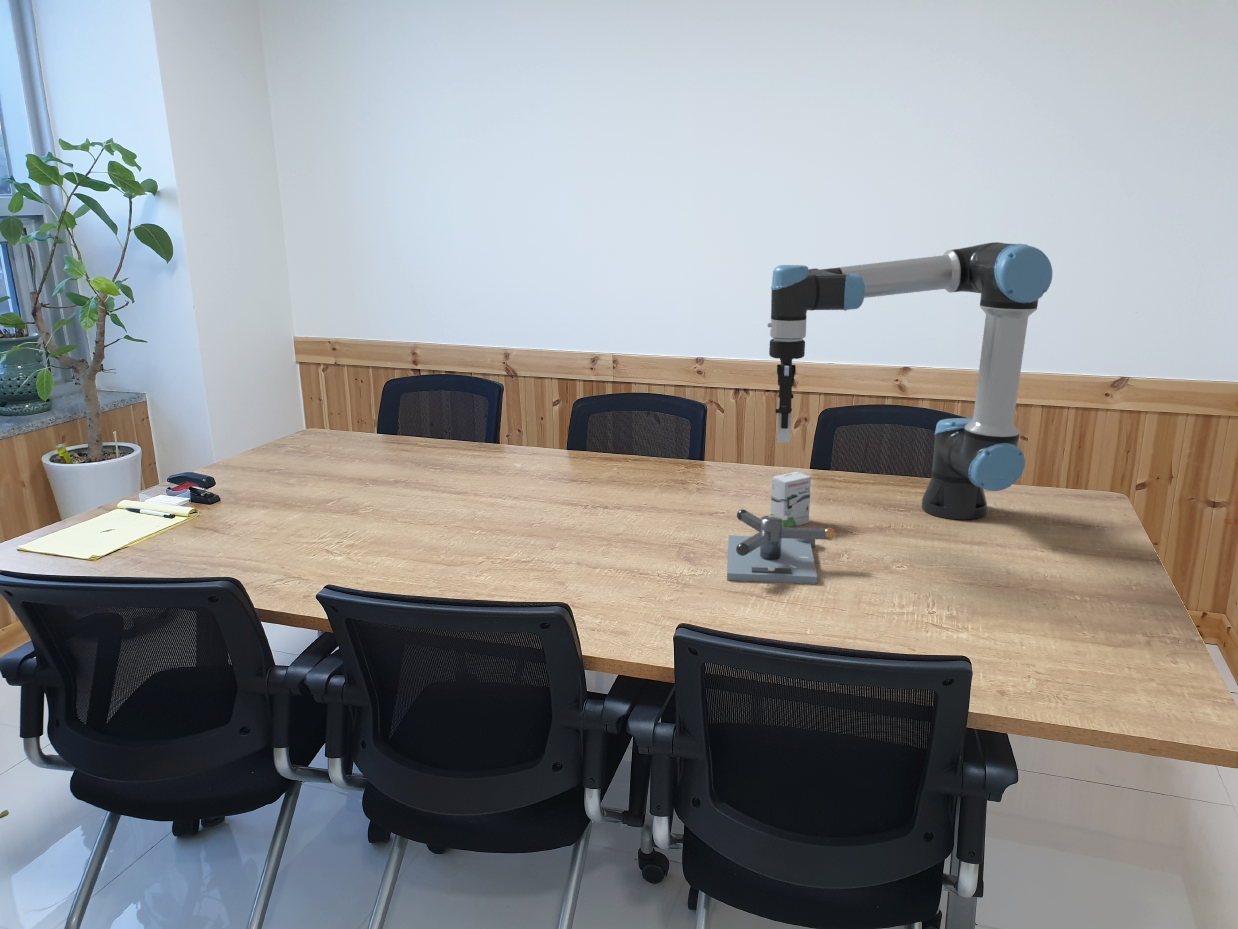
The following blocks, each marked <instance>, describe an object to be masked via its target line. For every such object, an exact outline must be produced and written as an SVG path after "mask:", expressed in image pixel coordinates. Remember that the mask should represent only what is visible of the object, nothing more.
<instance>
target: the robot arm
mask: <svg viewBox="0 0 1238 929" xmlns="http://www.w3.org/2000/svg"><path fill="white" fill-rule="evenodd" d="M771 278H772V279H771V287H770V290H771V296H770V297H771V300H770V302H771V304H770V305H771V306H770V307H771V310H770V312H771V313H770V322H769V323H767V327H768V328H770V330H769V336H770V338H771V339H770V340H769V350H768V352H769V357H770V358H772V359H779V360H780V364H777V365H776V375H777V385H778V387H779V388H778V399H777V400H778V402H777V403H778V404H777V408H775V414H777V422H776V423H777V427H776V428H777V438H776V441H777V442H776V443H777V444H778V443H779V444H791V432H792V431H791V426H792V411H793V408H792V399H794V393H793V386H794V385H795V384H794V383H795V375H796V370H797V366H796V364H793V360H798V359H802V358H804V356H805V355H806V354H805V350H806V341H805V339H804V338H806V336H807V335H806V334H807V314H808V312H807V311H843V312H845V311H846V312H847V311H850V310H857V309H859V308H860V307H862V305H863V302H864V300H865V299H867V298H874V297H875V298H876V297H877V298H878V297H883V296H894V295H903V294H911V293H920V292H929V291H939V290H945V291H946V292H948V293H950V294H951V293H959V292H961V293H962V292H967V293H973V294H974V293H975V294H980V300H979V301H980V302H979V307H980V309H981V310H982V311H983V312H984V314H985V318H984V319H985V320H984V326H983V327H984V328H983V334H982V336H983V337H982V342H981V343H982V344H981V351H980V358H979V361H980V362H979V366H978V367H979V369H978V375H977V384H976V390H975V392H976V393H975V399H974V408H973V414H972V415H973V417H972V418H970V417H969V418H967V417H966V418H965V417H964V418H963V417H961V418H959V417H956V418H954V417H953V418H944V419H941V420H938V422H937V423H936V425H935V426H936V427H935V432H934V440H933V441H934V443H933V444H934V445H933V446H934V447H933V453H932V454H933V455H932V457H933V458H932V467H931V468H932V471H931V478H930V480H929V482H928V485H927V487H926V489H925V492H924V494H923V496H922V498H921V510H923V511H924V512H926V513H928V514H930V515H932V516H936V517H938V518H944V519H951V520H976V519H981V518H982V517H984V516H986V515H987V512H988V503H987V499H986V495H985V494H986V493H985V491H984V490H986V491H990V492H999V491H1003V490H1006V489H1008V488H1010V487H1012V485H1013V484H1015V483H1017V482H1018V480H1019V479H1020V478H1021V476H1022V475H1023V473H1024V470H1025V467H1026V458H1025V455H1024V454H1023V451H1022V450H1021V449H1020V447H1019V439H1020V429H1018V427H1016V426H1015V424H1014V422H1015V415H1016V408H1017V407H1016V405H1017V400H1018V392H1019V386H1020V385H1019V384H1020V380H1021V371H1022V364H1023V357H1024V356H1023V355H1024V349H1025V344H1026V343H1025V342H1026V336H1027V335H1026V334H1027V327H1028V323H1029V322H1028V319H1029V317H1030V316H1031V315H1032V314H1033V313H1035V312H1036V311H1037V310H1038V304H1039V299H1041V298H1042V297H1043V295H1044V294H1045V293H1047V292H1048V290H1049V289H1050V286H1051V284H1052V280H1053V267H1052V263H1051V261H1050V259H1049V258H1048V256H1047V255H1046V254H1045V252H1043V251H1042V250H1041V249H1039V248H1037V247H1035V246H1031V245H1028V244H1023V243H1004V242H988V243H982V244H977V245H973V246H968V247H962V248H956V249H948V250H946V251H945V252H944V253H943V255H934V256H927V257H926V256H925V257H918V258H916V257H915V258H908V259H901V260H900V259H899V260H892V261H891V260H890V261H882V262H874V263H865V264H857V265H848V266H839V267H831V268H830V267H829V268H822V269H820V268H816V267H815V268H809V267H808V266H807V265H803V264H802V265H801V264H781V265H777V266H775V268H774V269H773V270H772V277H771Z"/></svg>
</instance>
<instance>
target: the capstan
mask: <svg viewBox="0 0 1238 929" xmlns="http://www.w3.org/2000/svg"><path fill="white" fill-rule="evenodd" d="M736 517H737V519H738V520H739V521H740V522H742V523H744V524H746V525H747V526H749V527H750V528H753V529H754V530H756V531H757V533H756V534H754V535H751V536H752V537H750V538H749V539H747V540H745V541H743V542H742V543H740V544H738V545H737V547H736V552H737V553H738V554H739V555H741V556H745V555H747V554H748V553H750V552H751V551H753V550H755V549H756V548H758V547H760V556H761V557H762V558H764V559H770V560H774V559H779V558H780V557H781V540H782V538H792V539H815V540H821V541H822V540H824V541H825V540H826V541H832V540H834V539H835V538H836V531H835V530H834V529H833V528H831V527H827V528H819V527H818V528H817V527H816V528H815V527H782V520H787V516H774V515H771V514H770V515H764V516H761V517H760V518H759V517H758V516H755V515H754V514H753V513H751V512H749V511H747V510H746V509H742V508H741V509H738V511H737V513H736Z"/></svg>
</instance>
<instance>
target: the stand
mask: <svg viewBox="0 0 1238 929" xmlns="http://www.w3.org/2000/svg"><path fill="white" fill-rule="evenodd" d="M752 536H753V535H730V534H729V535H728V541H727V542H728V543H727V545H728V546H727V547H728V548H727V566H726V581H736V582H737V581H740V582H741V581H743V582H764V583H765V582H766V583H769V582H771V583H793V584H794V583H795V584H815V585H816V584H818V575H817V570H816V563H815V558H814V555H813V549H814V548H815V547H816V539H792V538H782V540H781V557H780V558H779V559H774V560H770V559H764V558H762V557H761V556H760V547H758V548H756V549H755V550H753V551H751V552H750V553H748V554H747V555H745V556H741V555H739V554H738V553H737V552H736V547H737V545H738V544H740V543H742V542H743V541H745V540H747V539H749V538H750V537H752Z"/></svg>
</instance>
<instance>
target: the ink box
mask: <svg viewBox="0 0 1238 929" xmlns="http://www.w3.org/2000/svg"><path fill="white" fill-rule="evenodd" d="M811 481H812V476H811V475H808V474H804V473H803V472H800V471H792V472H789V473H784V474H779V475H774V476H773V477H772V478H771V495H770V496H771V498H770V499H771V500H770V515H774V516H787V520H782V527H792V528H795V527H797V526H802V525H805V524H809V523H810V505H811V504H810V503H811V502H810V501H811V484H812V482H811Z"/></svg>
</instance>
